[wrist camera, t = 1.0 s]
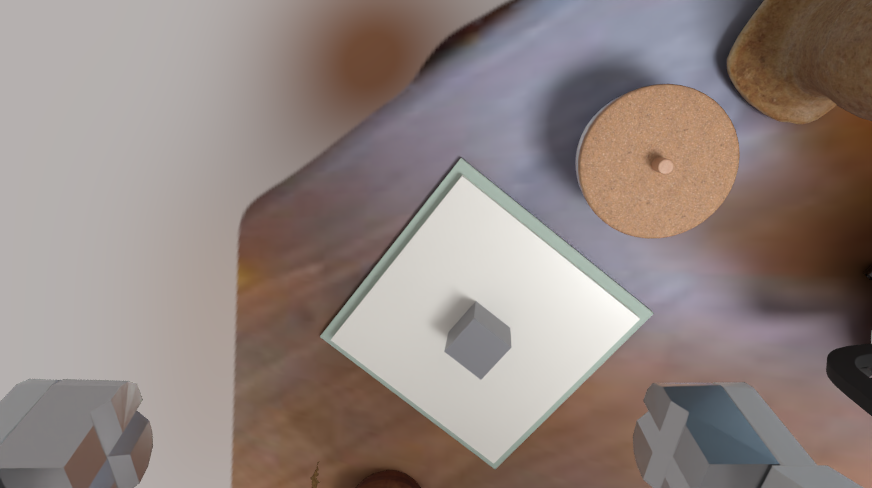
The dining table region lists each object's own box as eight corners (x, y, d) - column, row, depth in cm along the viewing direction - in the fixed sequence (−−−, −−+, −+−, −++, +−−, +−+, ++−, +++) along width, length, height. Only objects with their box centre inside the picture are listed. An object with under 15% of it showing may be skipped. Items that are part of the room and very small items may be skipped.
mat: (652, 311, 46) (653, 313, 46) (495, 466, 52) (495, 469, 52) (461, 157, 45) (460, 158, 44) (321, 334, 51) (319, 336, 50)
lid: (637, 314, 46) (653, 338, 41) (493, 457, 51) (493, 492, 47) (462, 174, 45) (458, 182, 40) (333, 335, 50) (316, 359, 45)
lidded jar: (545, 192, 45) (558, 212, 36) (597, 69, 42) (625, 58, 33) (661, 235, 45) (703, 267, 36) (721, 115, 42) (784, 116, 33)
